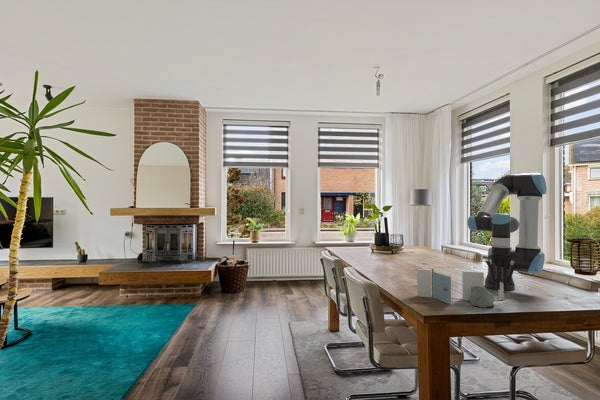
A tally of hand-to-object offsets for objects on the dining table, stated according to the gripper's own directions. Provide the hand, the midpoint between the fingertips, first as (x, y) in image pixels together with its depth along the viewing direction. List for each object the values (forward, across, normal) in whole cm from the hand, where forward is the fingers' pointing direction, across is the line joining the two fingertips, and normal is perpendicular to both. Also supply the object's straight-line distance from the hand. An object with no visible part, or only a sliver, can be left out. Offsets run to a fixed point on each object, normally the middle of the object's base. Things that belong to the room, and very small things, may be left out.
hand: (500, 296), depth 162 cm
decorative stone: (+5, +8, 0) cm, 9 cm away
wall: (+5, +21, -8) cm, 23 cm away
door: (+4, +26, -2) cm, 27 cm away
